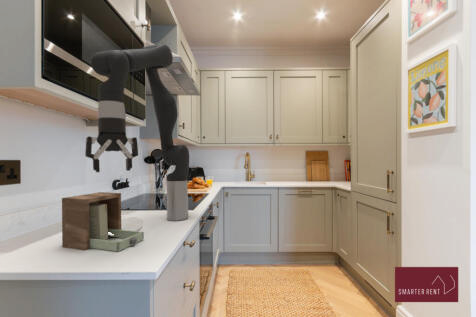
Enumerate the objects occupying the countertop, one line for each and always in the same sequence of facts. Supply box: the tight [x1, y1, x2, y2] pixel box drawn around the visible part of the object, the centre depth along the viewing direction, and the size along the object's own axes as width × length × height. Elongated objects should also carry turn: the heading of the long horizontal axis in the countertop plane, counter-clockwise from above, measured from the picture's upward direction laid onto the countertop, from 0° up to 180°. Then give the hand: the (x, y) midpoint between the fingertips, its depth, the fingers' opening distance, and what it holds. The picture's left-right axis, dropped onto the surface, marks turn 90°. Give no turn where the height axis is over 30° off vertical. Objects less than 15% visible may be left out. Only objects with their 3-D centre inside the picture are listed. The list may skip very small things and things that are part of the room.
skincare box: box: [89, 204, 109, 241], centre depth 85 cm, size 6×4×12 cm
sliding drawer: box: [89, 229, 144, 252], centre depth 83 cm, size 11×20×2 cm, turn 72°
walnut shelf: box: [61, 191, 122, 251], centre depth 86 cm, size 14×10×15 cm, turn 162°
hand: (113, 171), depth 78 cm, fingers open, 8 cm apart
